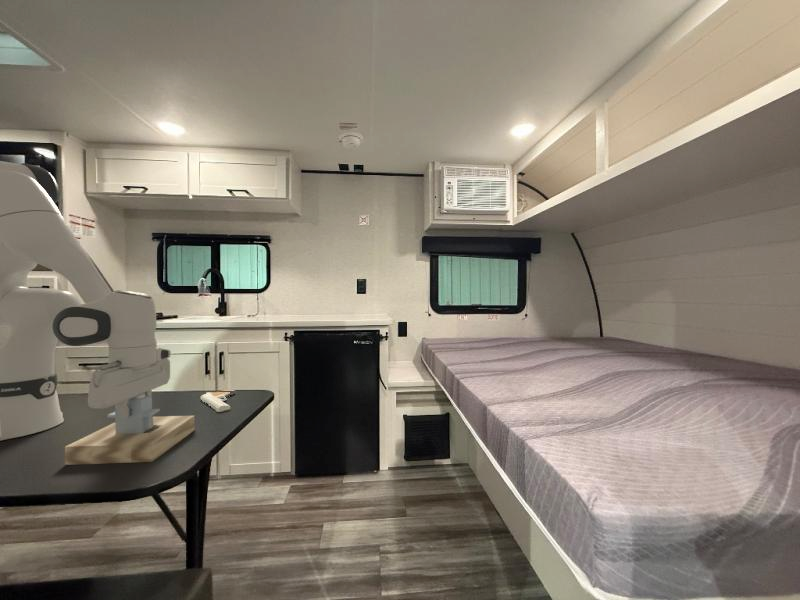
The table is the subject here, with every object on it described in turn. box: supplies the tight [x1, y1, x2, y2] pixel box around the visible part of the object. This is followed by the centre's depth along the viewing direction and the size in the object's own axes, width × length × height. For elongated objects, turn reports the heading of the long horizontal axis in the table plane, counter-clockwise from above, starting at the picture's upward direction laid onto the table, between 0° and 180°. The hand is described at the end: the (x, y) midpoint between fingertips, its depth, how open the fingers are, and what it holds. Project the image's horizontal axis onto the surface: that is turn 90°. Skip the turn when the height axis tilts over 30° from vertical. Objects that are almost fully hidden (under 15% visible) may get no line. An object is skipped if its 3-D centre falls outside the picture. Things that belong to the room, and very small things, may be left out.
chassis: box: [64, 415, 196, 466], centre depth 75 cm, size 18×16×4 cm
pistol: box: [200, 388, 235, 413], centre depth 107 cm, size 2×20×11 cm
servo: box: [106, 394, 161, 434], centre depth 74 cm, size 10×3×9 cm, turn 94°
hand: (134, 413), depth 74 cm, fingers closed on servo, 3 cm apart
